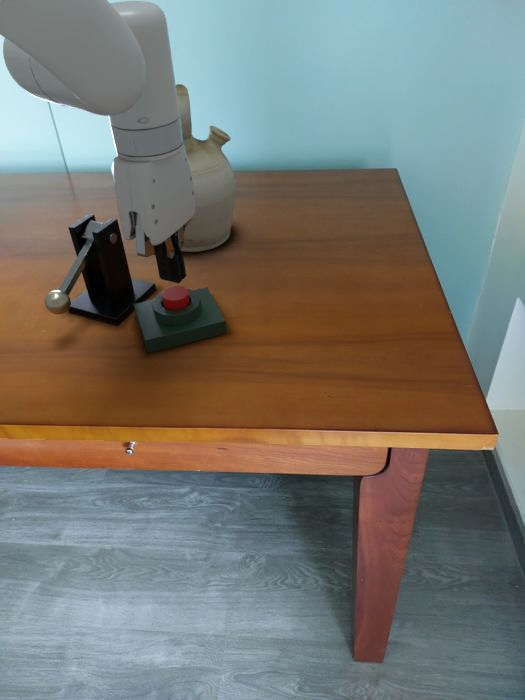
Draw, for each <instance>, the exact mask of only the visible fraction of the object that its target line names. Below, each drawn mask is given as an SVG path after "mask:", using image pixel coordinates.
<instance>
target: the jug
mask: <svg viewBox="0 0 525 700" xmlns="http://www.w3.org/2000/svg"><path fill="white" fill-rule="evenodd" d="M175 85H176V92H177V99H178V107H179V114H180V121H181V128H182V136H183V143H184V147H185V150H186V154H187V158H188V162H189V166H190V170H191V175H192V181H193V187H194V193H195V205H196V209H195V213H194V215H193V216H192V218H191V221H190V222H189V223H188V225H187V226H186V228H185V231H184V248H183V249H182V250H181V251H183V253H200V252H205V251H211V250H213V249H215V248H217V247H219V246H221V245H223V244H224V243H225V242H226V241H227V240H228V239H229V237H230V235H231V229H232V224H233V215H234V209H235V208H234V206H235V198H236V180H235V179H236V178H235V174H234V173H235V172H234V169H233V168H232V165H231V163H230V161H229V159H228V157H227V156H226V154H225V153H224V152H223V150H222V147H223V146H224V145H226V144H227V143H228V142H230V141H231V139H232V138H231V136H230V135H229V134H228V133H227V132H225V131H224V130H222V129H221V128H219V127H217V126H215V125H210V126H209V132H208V137H207V138H206V139H198V138H196V137H194V135H193V134H192V133H193V125H192V111H191V102H190V95H189V90H188V88H187V87H186V86H185V85H184V84H180V83H177V84H175Z"/></svg>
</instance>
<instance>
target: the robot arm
mask: <svg viewBox="0 0 525 700" xmlns="http://www.w3.org/2000/svg"><path fill="white" fill-rule="evenodd" d="M168 27H169V26H168V23H167V18H166V15H165V12H164V10H163V8H161V7H160V6H159V5H158V4H156V3H154V2H152V1H151V2H150V1H145V0H127V1H126V0H125V1H115V2H111V3H110V2H109V0H0V36H2V37H3V38H4V39H3V45H2V54H3V60H4V64H5V67H6V69H7V71H8V73H9V75H10V76H11V78H12V79H13V80H14V82H15V83H16V84H17V85H18V86H19V87H20V88H21V89H22V90H24V91H25V92H26V93H28V94H29V95H31V96H32V97H35V98H37V99H39V100H42V101H45V102H49V103H52V104H56V105H58V106H59V105H60V106H62V107H67V108H68V107H69V108H73V109H77V110H80V111H82V112H86V113H90V114H93V115H97V116H100V117H101V116H102V117H108V121H109V126H110V130H111V131H110V132H111V135H112V139H113V144H114V148H115V149H114V150H115V154H116V156H115V157H114V158H113V163H114V177H113V183H114V193H115V194H114V195H115V200H116V206H117V207H116V208H117V212H118V218H119V225H120V227H121V233H122V235H123V238H124V240H126V241H133V240H135V250H136V251H135V252H136V255H137V256H140V257H144V258H149V257H151V256H155V260H156V266H157V271H158V276H159V279H161V280H163V281H166V282H171V283H176V284H180V283H181V282H183V280H184V279H185V278H187V270H186V264H185V257H184V252H183V251H181V250H182V249H183V248H184V231H185V228H186V226H187V225H188V223H189V222H190V221H191V218H192V216H193V215H194V213H195V209H196V205H195V193H194V187H193V181H192V175H191V170H190V166H189V162H188V158H187V154H186V150H185V147H184V143H183V136H182V128H181V121H180V114H179V107H178V99H177V92H176V85H177V84H176V78H175V72H174V64H173V57H172V51H171V50H172V49H171V42H170V36H169V35H170V33H169V30H168V29H169V28H168Z"/></svg>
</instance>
